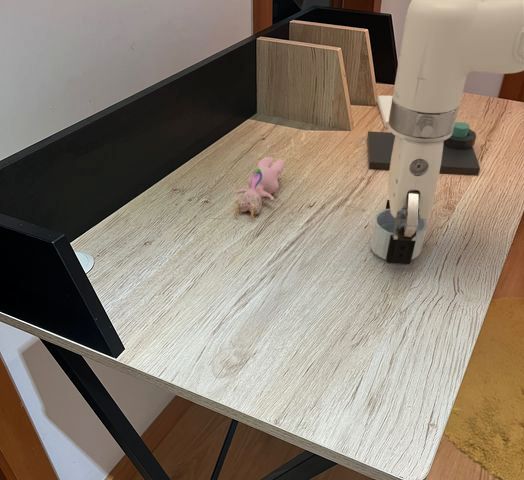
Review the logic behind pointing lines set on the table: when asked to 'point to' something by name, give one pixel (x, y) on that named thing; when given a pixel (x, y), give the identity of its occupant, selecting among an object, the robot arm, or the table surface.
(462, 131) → the button
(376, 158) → the scale
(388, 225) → the bowl
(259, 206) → the pink soft elongated toy
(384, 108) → the hard drive
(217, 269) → the table surface
